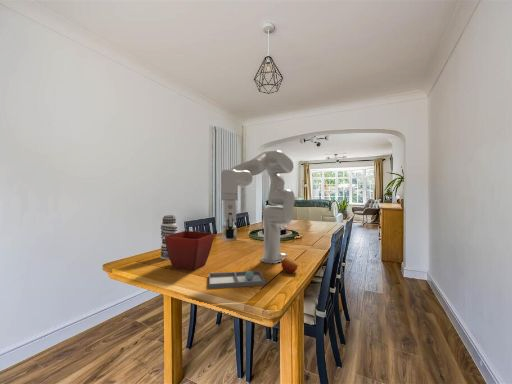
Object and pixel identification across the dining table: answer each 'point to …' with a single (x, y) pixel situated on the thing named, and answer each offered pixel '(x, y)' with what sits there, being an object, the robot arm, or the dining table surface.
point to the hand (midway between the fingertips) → (229, 236)
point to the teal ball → (249, 275)
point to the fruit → (289, 265)
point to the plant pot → (189, 249)
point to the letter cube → (225, 233)
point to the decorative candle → (167, 232)
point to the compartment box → (234, 279)
